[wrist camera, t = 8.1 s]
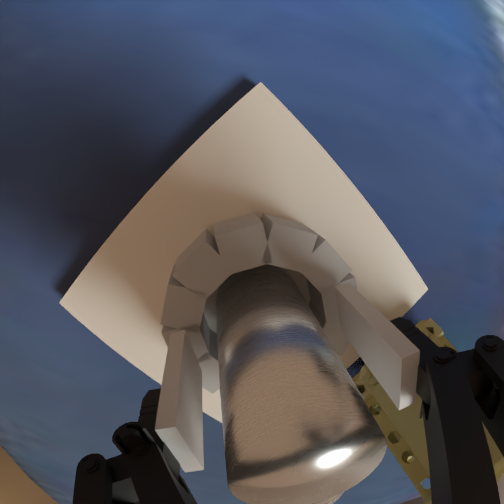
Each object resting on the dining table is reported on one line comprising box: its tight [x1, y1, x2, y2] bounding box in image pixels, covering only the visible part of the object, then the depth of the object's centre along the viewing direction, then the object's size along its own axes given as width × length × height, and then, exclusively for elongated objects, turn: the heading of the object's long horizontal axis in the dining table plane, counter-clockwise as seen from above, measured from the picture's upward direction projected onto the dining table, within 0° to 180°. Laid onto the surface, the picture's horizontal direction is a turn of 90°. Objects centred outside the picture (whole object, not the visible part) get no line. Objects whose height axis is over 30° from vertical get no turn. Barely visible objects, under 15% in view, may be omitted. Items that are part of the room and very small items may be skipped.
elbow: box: [216, 264, 387, 504], centre depth 14 cm, size 8×5×12 cm, turn 14°
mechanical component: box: [352, 318, 504, 504], centre depth 19 cm, size 8×17×20 cm, turn 39°
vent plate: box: [59, 82, 428, 423], centre depth 18 cm, size 18×18×4 cm
